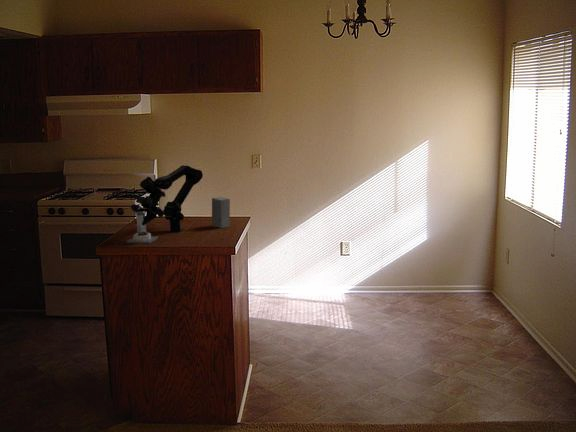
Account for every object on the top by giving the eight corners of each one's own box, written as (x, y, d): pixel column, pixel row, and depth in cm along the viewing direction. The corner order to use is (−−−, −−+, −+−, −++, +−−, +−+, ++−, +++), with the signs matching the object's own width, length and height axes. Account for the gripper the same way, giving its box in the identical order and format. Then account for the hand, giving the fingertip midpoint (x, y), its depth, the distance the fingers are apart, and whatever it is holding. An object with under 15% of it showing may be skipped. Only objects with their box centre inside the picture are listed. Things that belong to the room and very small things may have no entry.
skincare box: (211, 226, 347) (210, 198, 344) (221, 224, 352) (220, 196, 349) (221, 228, 341) (219, 199, 338) (231, 226, 346) (230, 197, 343)
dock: (136, 237, 327) (135, 231, 326) (158, 238, 324) (157, 232, 324) (126, 242, 316) (126, 236, 315) (149, 243, 314) (148, 237, 313)
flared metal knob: (146, 235, 323) (144, 210, 320) (148, 237, 318) (146, 211, 316) (136, 236, 321) (134, 211, 319) (138, 238, 317) (135, 212, 314)
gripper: (131, 188, 323) (116, 213, 317) (157, 191, 313) (143, 217, 306) (144, 201, 331) (130, 226, 325) (170, 203, 321) (156, 229, 315)
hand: (139, 224), depth 317 cm, fingers closed on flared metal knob, 4 cm apart
